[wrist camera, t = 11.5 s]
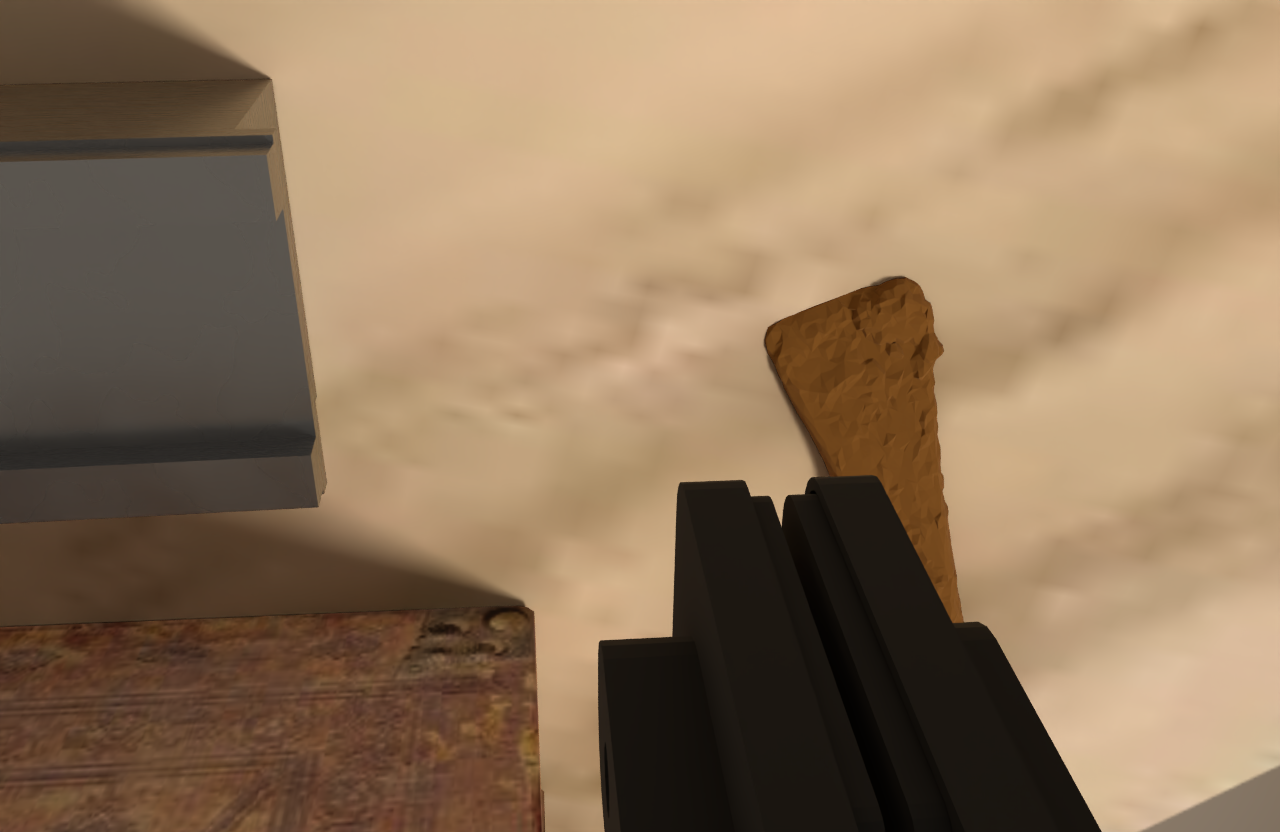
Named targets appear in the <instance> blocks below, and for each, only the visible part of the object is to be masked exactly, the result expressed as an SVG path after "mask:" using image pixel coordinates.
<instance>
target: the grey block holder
mask: <svg viewBox="0 0 1280 832" xmlns="http://www.w3.org/2000/svg"><path fill="white" fill-rule="evenodd" d="M316 397H317V396H316V389H315V382H314V375H313V367H312V360H311V353H310V346H309V339H308V332H307V325H306V318H305V311H304V304H303V297H302V289H301V282H300V275H299V268H298V261H297V254H296V247H295V240H294V233H293V226H292V219H291V211H290V204H289V197H288V190H287V183H286V176H285V169H284V162H283V155H282V148H281V141H280V133H279V126H278V119H277V112H276V105H275V98H274V91H273V84H272V79H255V80H209V81H163V82H117V83H70V84H24V85H0V524H7V523H26V522H45V521H64V520H83V519H102V518H122V517H141V516H160V515H179V514H198V513H217V512H236V511H256V510H275V509H294V508H313V507H319V503H320V499H321V495H322V494H324V493H325V489H326V485H327V480H326V473H325V466H324V459H323V451H322V444H321V437H320V430H319V423H318V416H317V409H316V402H315V401H316Z"/></svg>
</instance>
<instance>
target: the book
mask: <svg viewBox="0 0 1280 832" xmlns="http://www.w3.org/2000/svg"><path fill="white" fill-rule="evenodd" d="M0 832H545V811H544V791H543V790H541V778H540V750H539V722H538V695H537V667H536V639H535V618H534V611H532V610H530V609H529V608H527V607H522V606H495V607H471V608H447V609H423V610H399V611H375V612H351V613H327V614H304V615H280V616H256V617H232V618H208V619H184V620H160V621H136V622H112V623H89V624H65V625H41V626H17V627H0Z"/></svg>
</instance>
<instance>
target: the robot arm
mask: <svg viewBox="0 0 1280 832" xmlns="http://www.w3.org/2000/svg"><path fill="white" fill-rule="evenodd" d="M598 714H599V751H600V773H601V790H602V804H603V817H604V829H605V832H1102V831H1101V830H1100V828H1099V826H1098V824H1097V822H1096V820H1095V819H1094V817H1093V815H1092V813H1091V811H1090V810H1089V808H1088V806H1087V804H1086V802H1085V800H1084V799H1083V797H1082V795H1081V793H1080V791H1079V789H1078V788H1077V786H1076V784H1075V782H1074V780H1073V779H1072V777H1071V775H1070V773H1069V771H1068V769H1067V768H1066V766H1065V764H1064V762H1063V760H1062V758H1061V757H1060V755H1059V753H1058V751H1057V749H1056V748H1055V746H1054V744H1053V742H1052V740H1051V738H1050V737H1049V735H1048V733H1047V731H1046V729H1045V727H1044V726H1043V724H1042V722H1041V720H1040V718H1039V717H1038V715H1037V713H1036V711H1035V709H1034V707H1033V706H1032V704H1031V702H1030V700H1029V698H1028V696H1027V695H1026V693H1025V691H1024V689H1023V687H1022V686H1021V684H1020V682H1019V680H1018V678H1017V676H1016V675H1015V673H1014V671H1013V669H1012V667H1011V665H1010V664H1009V662H1008V660H1007V658H1006V656H1005V654H1004V653H1003V651H1002V649H1001V647H1000V645H999V644H998V642H997V640H996V638H995V637H994V636H993V634H992V633H991V631H990V630H989V629H988V627H987V626H985V625H983V624H981V623H979V622H964V623H952V621H951V619H950V617H949V615H948V613H947V611H946V609H945V607H944V605H943V603H942V601H941V599H940V597H939V595H938V593H937V591H936V589H935V587H934V585H933V583H932V581H931V579H930V578H929V576H928V574H927V572H926V570H925V568H924V566H923V564H922V562H921V560H920V558H919V556H918V554H917V552H916V550H915V548H914V546H913V544H912V542H911V540H910V538H909V536H908V534H907V532H906V530H905V528H904V526H903V524H902V522H901V520H900V518H899V517H898V515H897V513H896V511H895V509H894V507H893V505H892V503H891V501H890V499H889V497H888V495H887V493H886V491H885V489H884V487H883V485H882V483H881V481H880V480H879V479H878V477H877V476H874V475H860V476H834V477H811V478H810V480H809V481H808V483H807V486H806V490H805V494H802V495H788V496H787V497H786V499H785V502H784V509H783V519H782V527H781V524H780V521H779V519H778V516H777V513H776V510H775V507H774V504H773V501H772V499H771V497H769V496H752V497H751V496H750V493H749V490H748V487H747V485H746V482H745V481H743V480H730V481H705V482H680V484H679V487H678V493H677V511H676V542H675V573H674V604H673V635H672V637H662V638H642V639H622V640H602V641H600V642H599V650H598Z"/></svg>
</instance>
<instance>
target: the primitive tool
mask: <svg viewBox="0 0 1280 832" xmlns="http://www.w3.org/2000/svg"><path fill="white" fill-rule="evenodd" d="M933 324H934V317H933V311H932V306H931V304H930V303H929V302H928V301H926V300H925V297H924V294H923V291H922V289H921V287H920V286H919V285H918V284H917V283H916V282H914V281H912V280H910V279H908V278H906V277H905V278H897V279H893V280H889V281H886V282H884V283H882V284H880V285H877V286H869V287H866V288H861V289H859V290H856V291H853V292H851V293H848V294H846V295H843V296H840V297H838V298H835V299H833V300H830V301H828V302H825V303H822V304H819V305H817V306H814V307H812V308H809V309H807V310H804V311H801V312H799V313H797V314H795V315H792V316H789V317H787V318H785V319H783V320H781V321H779V322H778V323H776V324H774V325H772V326H770V327H768V330H767V334H766V337H765V344H766V347H767V351H768V354H769V356H770V358H771V359H772V361H773V363H774V364H775V367H776V370H777V373H778V375H779V377H780V379H781V380H782V383H783V386H784V389H785V390H786V392H787V394H788V396H789V398H790V400H791V402H792V404H793V406H794V408H795V410H796V412H797V413H798V415H799V417H800V418H801V420H802V421H803V423H804V425H805V426H806V428H807V430H808V431H809V433H810V435H811V437H812V439H813V441H814V443H815V445H816V447H817V448H818V450H819V452H820V454H821V456H822V458H823V460H824V462H825V465H826V468H827V470H828V472H829V475H830V477H834V476H860V475H874V476H877V477H878V479H879V480H880V481H881V483H882V485H883V487H884V489H885V491H886V493H887V495H888V497H889V499H890V501H891V503H892V505H893V507H894V509H895V511H896V513H897V515H898V517H899V518H900V520H901V522H902V524H903V526H904V528H905V530H906V532H907V534H908V536H909V538H910V540H911V542H912V544H913V546H914V548H915V550H916V552H917V554H918V556H919V558H920V560H921V562H922V564H923V566H924V568H925V570H926V572H927V574H928V576H929V578H930V579H931V581H932V583H933V585H934V587H935V589H936V591H937V593H938V595H939V597H940V599H941V601H942V603H943V605H944V607H945V609H946V611H947V613H948V615H949V617H950V619H951V621H952V623H964V621H963V616H962V611H961V603H960V598H959V594H958V588H957V575H956V570H955V565H954V559H953V552H952V546H951V539H950V531H949V525H948V506H947V504H946V503H945V500H944V496H943V492H942V490H943V488H944V479H943V475H942V473H941V466H940V460H941V453H940V444H939V440H938V436H937V433H938V423H937V403H936V399H935V395H934V385H935V380H934V374H933V367H934V364H935V361H936V359H937V358H938V357H940V356H941V355H942V354H943V352H944V349H943V345H942V344H941V343H940V342H939V340H938V339H937V337H936V335H935V333H934V327H933Z"/></svg>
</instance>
